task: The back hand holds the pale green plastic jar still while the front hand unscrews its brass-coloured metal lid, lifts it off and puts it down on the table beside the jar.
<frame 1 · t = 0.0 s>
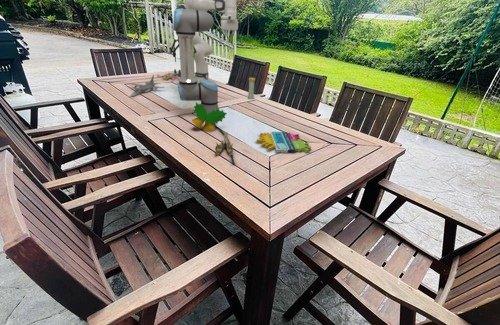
front hand: (184, 61, 211), 28 cm above the table, tool pointing down, fingers open, 13 cm apart
back hand: (229, 36, 219), 48 cm above the table, tool pointing down, fingers open, 8 cm apart
ornament: (209, 128, 165), on the table
lid: (252, 78, 224), point 17 cm above the table, screwed on, not yet turned
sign: (281, 143, 152), on the table
jar: (250, 98, 232), on the table
airplane: (145, 91, 230), on the table
toy: (171, 77, 283), on the table
jawbone: (224, 151, 138), on the table
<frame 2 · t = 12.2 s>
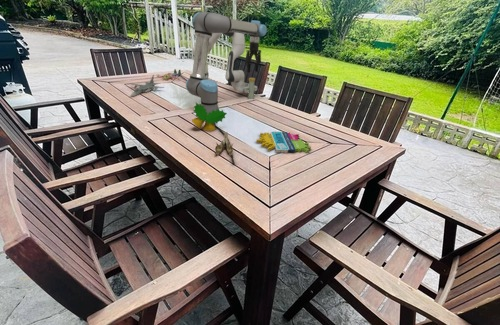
front hand: (252, 71, 221), 23 cm above the table, tool pointing down, fingers open, 8 cm apart
back hand: (251, 91, 228), 7 cm above the table, tool horizontal, fingers closed on jar, 5 cm apart
jar: (250, 98, 232), on the table, touching back hand
everything else where it was.
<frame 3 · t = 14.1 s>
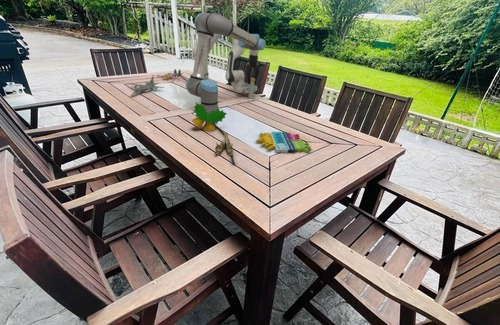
front hand: (251, 83, 226), 13 cm above the table, tool pointing down, fingers closed on lid, 5 cm apart
back hand: (251, 91, 228), 7 cm above the table, tool horizontal, fingers closed on jar, 5 cm apart
lid: (252, 78, 224), point 17 cm above the table, screwed on, not yet turned, touching front hand
jar: (250, 98, 232), on the table, touching back hand
everything else where it was.
when the front hand's fingers open (13 cm above the table, at t = 15.4 s): lid stays where it is, point 17 cm above the table.
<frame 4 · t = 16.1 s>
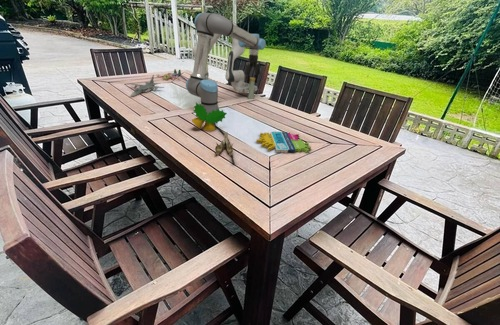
front hand: (251, 82, 226), 13 cm above the table, tool pointing down, fingers open, 8 cm apart
back hand: (251, 91, 228), 7 cm above the table, tool horizontal, fingers closed on jar, 5 cm apart
lid: (252, 78, 224), point 17 cm above the table, turned 83° so far, risen 0.3 cm, still on its thread
jar: (250, 98, 232), on the table, touching back hand
everything else where it was.
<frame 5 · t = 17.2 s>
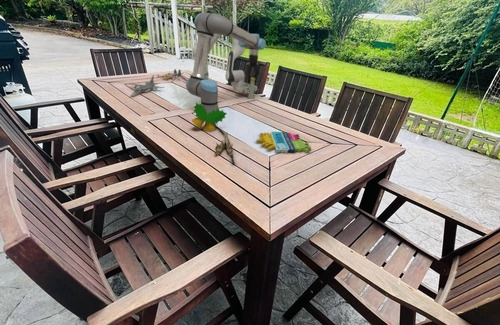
front hand: (251, 83, 226), 13 cm above the table, tool pointing down, fingers closed on lid, 5 cm apart
back hand: (251, 91, 228), 7 cm above the table, tool horizontal, fingers closed on jar, 5 cm apart
lid: (252, 78, 224), point 17 cm above the table, turned 83° so far, risen 0.3 cm, still on its thread, touching front hand
jar: (250, 98, 232), on the table, touching back hand
everything else where it was.
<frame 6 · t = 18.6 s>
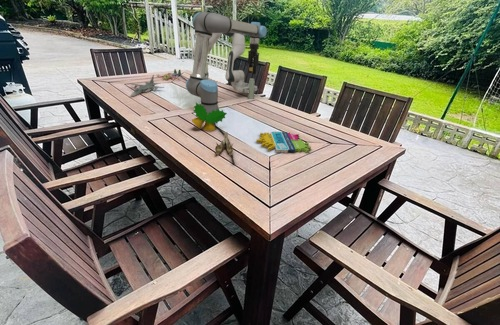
front hand: (252, 73, 222), 21 cm above the table, tool pointing down, fingers closed on lid, 5 cm apart
back hand: (251, 91, 228), 7 cm above the table, tool horizontal, fingers closed on jar, 5 cm apart
lid: (252, 68, 220), point 25 cm above the table, off its thread, touching front hand
jar: (250, 98, 232), on the table, touching back hand
everything else where it was.
when the front hand's fingers open (0 cm above the table, at t = 24.4 s): lid drops 3 cm, point 2 cm above the table.
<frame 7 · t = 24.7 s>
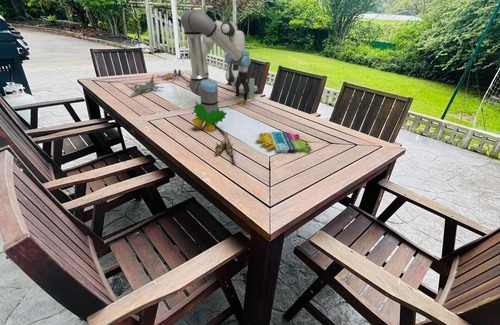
front hand: (241, 98, 215), 4 cm above the table, tool pointing down, fingers open, 13 cm apart
back hand: (251, 91, 228), 7 cm above the table, tool horizontal, fingers closed on jar, 5 cm apart
lid: (241, 101, 216), point 2 cm above the table, off its thread
jar: (250, 98, 232), on the table, touching back hand
everything else where it was.
when the back hand's fingers open (7 cm above the table, at t = 25.1 s): jar stays where it is, on the table.
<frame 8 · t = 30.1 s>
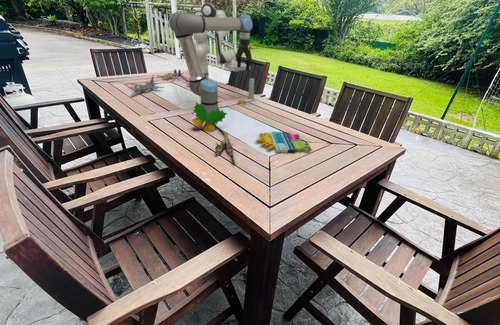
front hand: (243, 68, 204), 27 cm above the table, tool pointing down, fingers open, 13 cm apart
back hand: (244, 69, 230), 22 cm above the table, tool horizontal, fingers open, 8 cm apart
jar: (250, 98, 232), on the table
everything else where it was.
at the end: lid came off its thread; lid point 1.8 cm above the table; the front hand is holding nothing; the back hand is holding nothing; jar tilted 0°; jar moved 0.0 cm from its start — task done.
